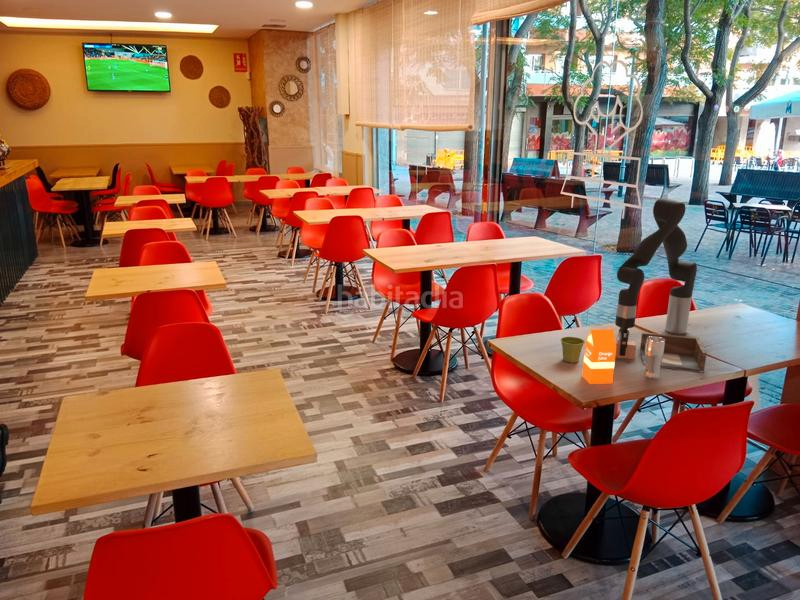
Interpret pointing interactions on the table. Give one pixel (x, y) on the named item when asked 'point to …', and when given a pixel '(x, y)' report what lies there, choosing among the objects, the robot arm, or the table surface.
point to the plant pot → (571, 348)
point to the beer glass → (653, 356)
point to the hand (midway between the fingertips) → (621, 351)
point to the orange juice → (599, 356)
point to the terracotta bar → (629, 349)
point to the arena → (679, 352)
